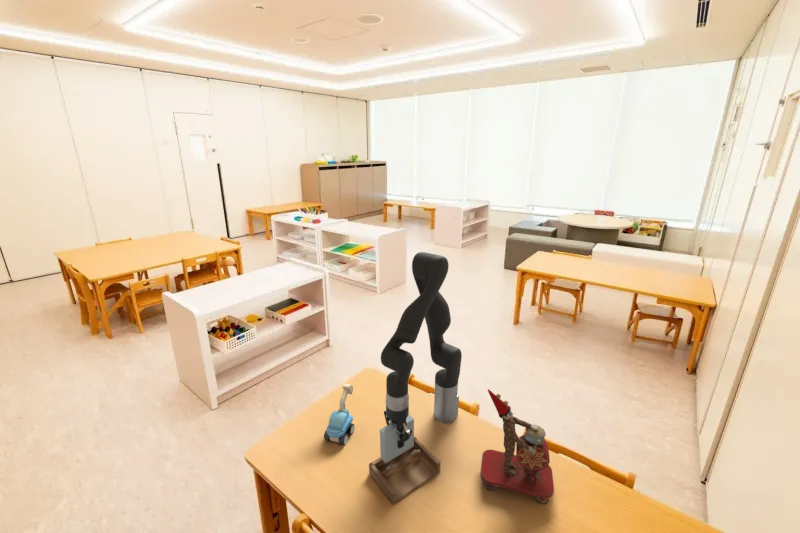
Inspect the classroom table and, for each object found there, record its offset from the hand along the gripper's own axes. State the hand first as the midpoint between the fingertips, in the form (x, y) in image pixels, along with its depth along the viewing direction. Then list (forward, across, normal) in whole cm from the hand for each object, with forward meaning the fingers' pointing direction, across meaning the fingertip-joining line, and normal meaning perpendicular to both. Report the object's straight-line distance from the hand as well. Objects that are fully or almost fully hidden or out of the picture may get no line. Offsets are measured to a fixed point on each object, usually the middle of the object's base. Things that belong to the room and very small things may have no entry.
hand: (397, 443), depth 124 cm
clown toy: (+10, -29, -28) cm, 41 cm away
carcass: (+10, -4, 0) cm, 11 cm away
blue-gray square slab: (+4, 0, 0) cm, 4 cm away
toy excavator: (+10, +26, +8) cm, 29 cm away
